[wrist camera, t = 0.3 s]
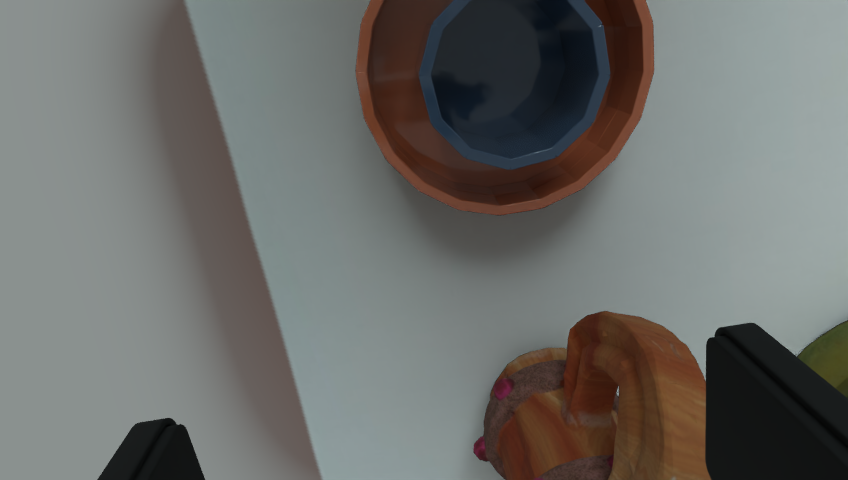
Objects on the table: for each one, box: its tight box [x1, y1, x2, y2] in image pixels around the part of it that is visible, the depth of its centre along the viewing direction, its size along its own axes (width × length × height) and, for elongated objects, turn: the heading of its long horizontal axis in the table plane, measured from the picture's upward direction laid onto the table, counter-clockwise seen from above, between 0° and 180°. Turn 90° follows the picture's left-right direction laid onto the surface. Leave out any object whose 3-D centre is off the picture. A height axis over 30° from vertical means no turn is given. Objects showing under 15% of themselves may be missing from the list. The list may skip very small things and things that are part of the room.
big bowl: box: [355, 0, 654, 215], centre depth 27 cm, size 13×13×4 cm
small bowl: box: [415, 0, 611, 170], centre depth 26 cm, size 8×8×6 cm
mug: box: [474, 311, 711, 480], centre depth 28 cm, size 15×8×15 cm, turn 168°
